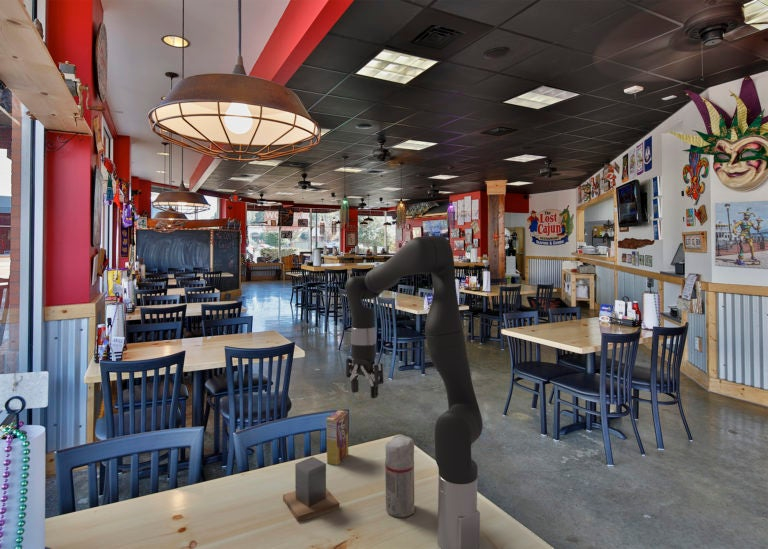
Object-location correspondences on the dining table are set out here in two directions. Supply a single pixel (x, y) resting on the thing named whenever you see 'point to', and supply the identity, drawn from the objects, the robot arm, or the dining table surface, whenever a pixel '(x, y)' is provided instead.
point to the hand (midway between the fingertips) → (364, 394)
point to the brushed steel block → (310, 481)
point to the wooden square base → (306, 512)
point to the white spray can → (400, 476)
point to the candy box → (337, 437)
